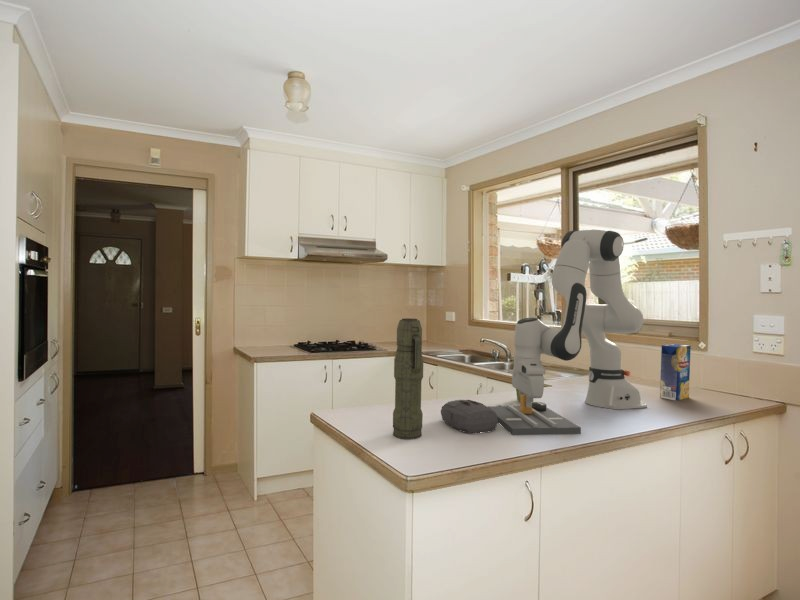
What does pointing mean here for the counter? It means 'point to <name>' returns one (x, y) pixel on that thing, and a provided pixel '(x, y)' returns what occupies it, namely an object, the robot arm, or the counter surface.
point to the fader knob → (522, 405)
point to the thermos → (408, 380)
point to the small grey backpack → (469, 416)
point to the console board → (534, 420)
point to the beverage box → (675, 371)
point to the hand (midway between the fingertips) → (525, 405)
